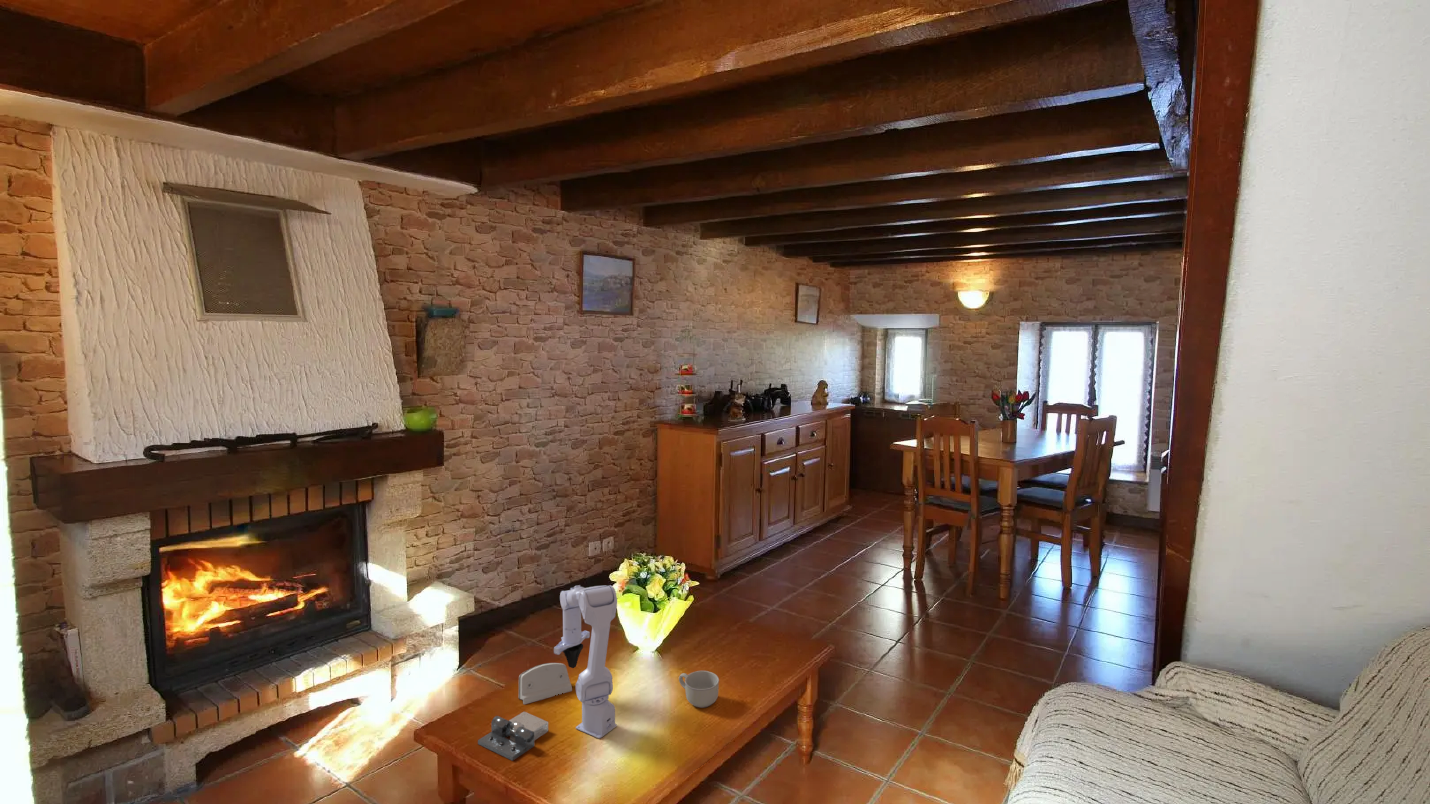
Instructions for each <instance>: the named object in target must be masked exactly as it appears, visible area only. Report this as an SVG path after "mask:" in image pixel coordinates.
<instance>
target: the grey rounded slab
mask: <svg viewBox="0 0 1430 804" xmlns="http://www.w3.org/2000/svg"><path fill="white" fill-rule="evenodd" d="M572 691H573V688H572V683H571V681H570V677H569V673H568V668H567V666H566V665H565V664H564V663H561V662H547V663H541V664H537V665H535V666H533V667H530V668H528V669H527V670H525V671H523V672H522V673H520V674H519V676H518V699H519V700H522V704H523V705H528V704H531V703H534V702H538V701H542V700H545V699H549V698H552V697H555V695H556V696H559V695H563V694H565V693H569V692H572ZM562 693H563V694H562ZM558 694H559V695H558Z"/></svg>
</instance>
